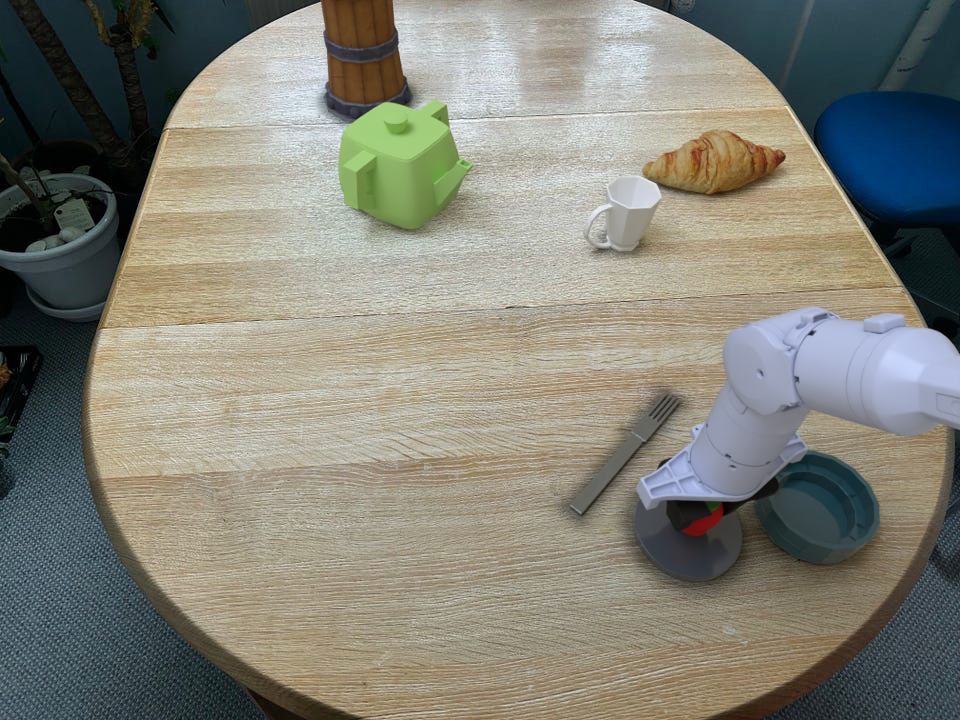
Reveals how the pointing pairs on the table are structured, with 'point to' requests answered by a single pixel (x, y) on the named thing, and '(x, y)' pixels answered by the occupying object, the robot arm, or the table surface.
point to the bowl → (820, 510)
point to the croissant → (714, 163)
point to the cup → (626, 211)
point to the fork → (624, 453)
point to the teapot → (401, 163)
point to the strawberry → (706, 520)
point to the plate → (687, 544)
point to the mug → (362, 57)
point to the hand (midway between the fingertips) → (695, 514)
